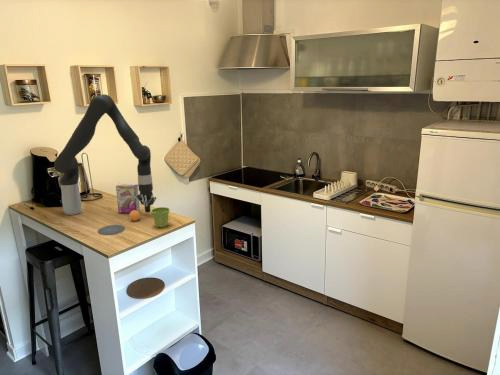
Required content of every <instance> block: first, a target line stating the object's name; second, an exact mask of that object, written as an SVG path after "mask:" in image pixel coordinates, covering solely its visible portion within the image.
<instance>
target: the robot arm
mask: <svg viewBox="0 0 500 375" xmlns="http://www.w3.org/2000/svg"><path fill="white" fill-rule="evenodd" d="M105 114H106V115H107V116H108V117H109V118H110V119H111V121H112V122H113V124H114V126H115V129H116V130H117V133H118V135H119V136H120V137H121V139H122V140H123V141H124V142H125V143H126V144H127V147H129V149H130V151H131V153H132V154H133V156H134V157H135V158H136V159H137V163H138V164H137V167H136V169H137V184H138V192H139V195H137V197H138V199H139V203H141V205H143V207H144V211H145V213H147V214H148V213H150V212H151V206H153V205H154V203H155V202H156V200H157V197H156V196H154V193H153V190H154V186H153V185H154V184H153V176H152V170H151V169H152V168H151V161H152V160H151V158H152V157H151V154H152V152H151V149H150V148H149V146H147V145H145V144H143V143H141V141H140V137H139V136H138V135H137V133H136V132H135V131H134V130H133V128H132V127H131V126H130V125H129V123H128V121H126V119H125V117H124V116H123V115H122V113H121V111H120V110H119V108H118V106H117V104H116V103H115V101H114V100H113V98H112V97H111V96H110V95H108V94H105V93H104V94H103V93H102V94H100V95H97V96H94V97H93V98H92V99H91V100H90V102H89V104H88V107H87V110H86V111H85V114H84V115H83V117H82V118H81V120H80V121H79V123H78V125H77V126H76V128H75V129H74V130H73V133H72V135H71V136H70V138H69V139H68V141H67V143H66V144H65V146H64V148H63V149H62V150H61V152H60V153H58V154H59V155H57V157H56V158H55V159H54V164H53V166H54V168H53V169H55V171H56V172H57V173H59V174H63V176H62V177H61V178H60V179H59V182H60V184H59V185H60V189H61V203H62V210H63V213H64V214H65V215H68V216H71V215H77V214H80V213H82V212H83V208H82V200H81V199H82V198H81V192H80V186H79V185H80V184H79V179H80V178H79V177H80V171H79V170H80V169H79V162H78V160H77V158H76V156H77V155H79V153H81V152H82V151H83V150H84V149H85V148H86V147H87V146H88V145H89V144H90V142H91V141H92V139H93V138H94V135H95V134H96V133H95V132H96V127H97V125H98V122H100V120H101V118H102V117H103V116H104V115H105Z"/></svg>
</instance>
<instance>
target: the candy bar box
mask: <svg viewBox="0 0 500 375" xmlns="http://www.w3.org/2000/svg"><path fill="white" fill-rule="evenodd" d="M115 191H116V199H117V200H116V201H117V211H118V214H130V212H131V211H133V210H137V211H138V212H139V213H140V211H141V208H140V206H141V205H140V201H139V199H138V197H137V195H139V194H140V192H139V187H138V183H118V184H116V185H115Z"/></svg>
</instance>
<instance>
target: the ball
mask: <svg viewBox="0 0 500 375" xmlns="http://www.w3.org/2000/svg"><path fill="white" fill-rule="evenodd" d="M128 214H129V215H128V216H129V218H130V220H131V221H134V222H136V221H138V220H140V218H141V213H140V211H139V212H138V211H137V210H133V211H131V212H130V213H128Z"/></svg>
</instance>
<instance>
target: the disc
mask: <svg viewBox="0 0 500 375" xmlns="http://www.w3.org/2000/svg"><path fill="white" fill-rule="evenodd" d="M125 228H126V227H125V226H124V225H121V224H112V225H106V226H102V227H101V228H99V229H98V230H97V233H98V234H99V235H102V236H113V235H117V234H119V233H122V232H124V231H125Z"/></svg>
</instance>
